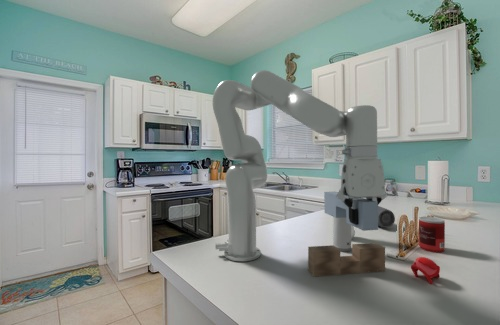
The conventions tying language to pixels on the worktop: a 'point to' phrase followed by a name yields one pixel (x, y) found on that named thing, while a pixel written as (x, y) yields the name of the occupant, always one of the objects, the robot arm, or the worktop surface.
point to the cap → (426, 268)
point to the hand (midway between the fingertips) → (362, 222)
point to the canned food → (432, 234)
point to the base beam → (346, 260)
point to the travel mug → (341, 234)
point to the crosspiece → (364, 206)
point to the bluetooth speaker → (385, 217)
